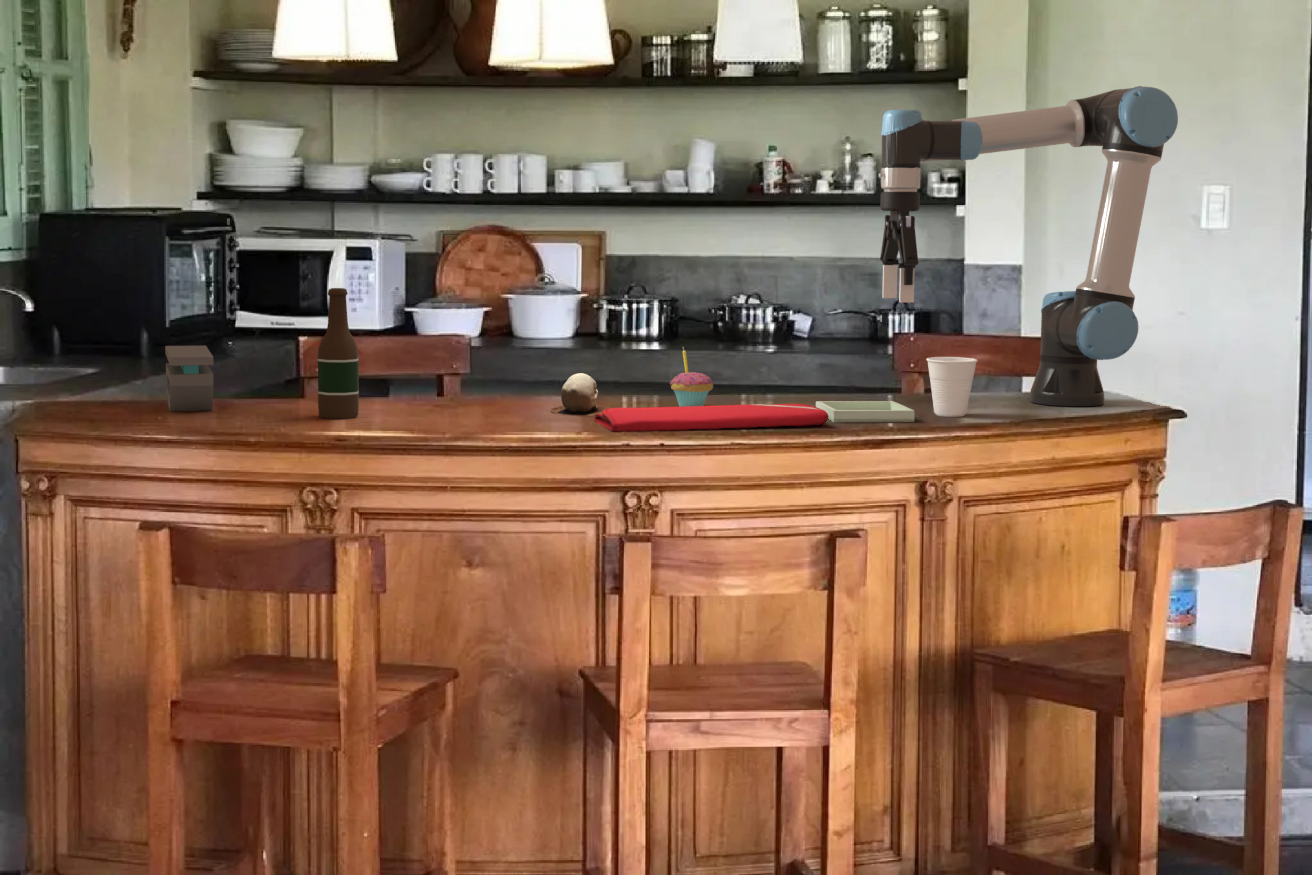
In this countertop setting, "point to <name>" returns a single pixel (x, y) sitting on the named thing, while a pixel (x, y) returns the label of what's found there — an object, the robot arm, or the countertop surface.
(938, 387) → the cup
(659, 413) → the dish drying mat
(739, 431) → the countertop surface
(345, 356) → the beer bottle
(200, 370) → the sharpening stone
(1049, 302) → the robot arm
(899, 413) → the tray
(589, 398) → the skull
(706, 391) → the cupcake
